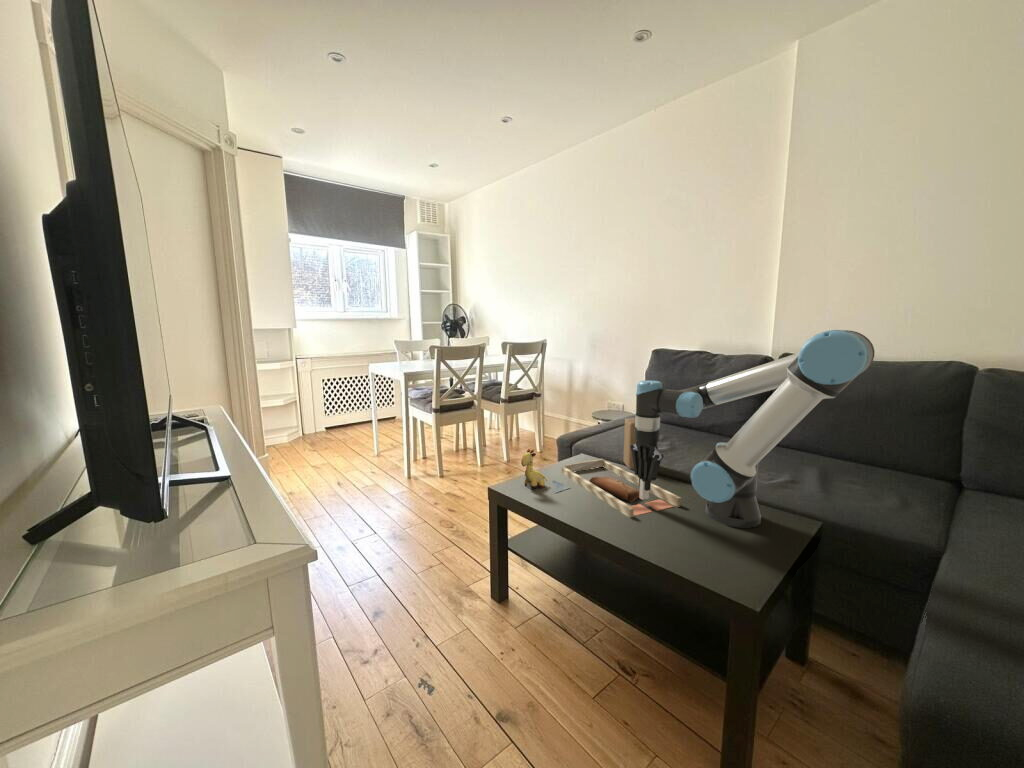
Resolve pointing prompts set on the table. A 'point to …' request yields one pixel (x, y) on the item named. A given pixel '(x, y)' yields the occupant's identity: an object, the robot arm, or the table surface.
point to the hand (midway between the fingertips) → (644, 498)
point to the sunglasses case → (616, 488)
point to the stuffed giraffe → (536, 474)
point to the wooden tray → (612, 500)
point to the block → (629, 441)
